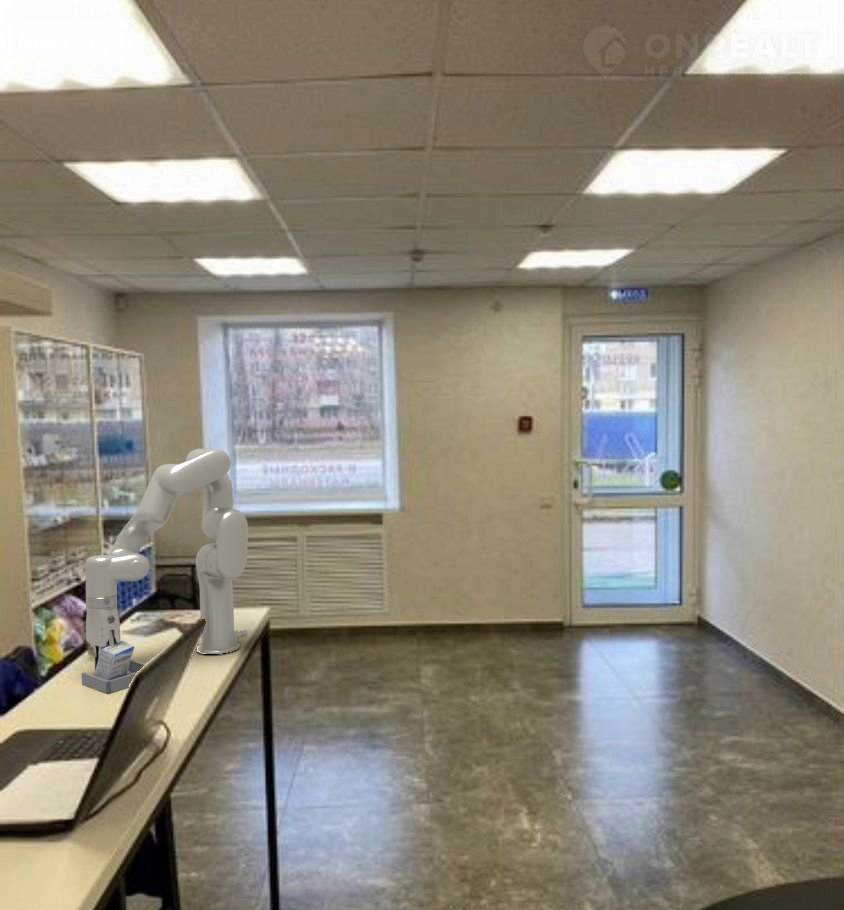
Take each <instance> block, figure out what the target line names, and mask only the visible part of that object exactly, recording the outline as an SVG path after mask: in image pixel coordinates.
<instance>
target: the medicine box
mask: <svg viewBox="0 0 844 910" xmlns="http://www.w3.org/2000/svg"><path fill="white" fill-rule="evenodd" d="M134 650H135V646H134V645H132V644H131V643H128V641H125V640H120V644H118V643H115V644H114V646H108V647H105V648H103V649H101V652H100V656H99V659H98V663H97V667H96V670H95V669H94V674H93V675H94V676H97V677H100V678H103V679H105V680H108V681H109V680H113V679H116V678H119V677H123V676H126V675H128V672H129V671H128V668H129V664H130V661H131V659H132V657H133V653H134Z"/></svg>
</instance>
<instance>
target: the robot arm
mask: <svg viewBox="0 0 844 910" xmlns="http://www.w3.org/2000/svg"><path fill="white" fill-rule="evenodd" d="M185 458H186V459H185V461H183V462H182V463H166V464H165V463H164V464H162V465H160V466H158V467H157V468H156V469H155V470H154V472H153V474H152V476H151V477H150V478H151V479H150V481H149V483H148V486H146V489H145V492H144V494H143V496H142V498H141V501H140V503H139V505H138V507H137V509H136V511H135V513H134V514H133V515H132V516H131V518H130V519H129V521H128V522H127V523H126V524H125V525H124V527H123V528H122V529H121V530H120V532H119V534H118V535H117V537H116V539H115V542H114V544H113V546H112V548H111V550H110V552H109V554H100V555H93V556H90V557H87V559H86V561H85V610H86V619H85V640H86V642H87V643H88V644H89V645H90V647H91V648H92V649H93V656H94V671H95V670H96V667H97V663H98V659H99V656H100V652H101V649H103V648H105V647H108V646H114V644H115V643H118V644H120V641H121V623H120V616H119V611H118V589H117V588H118V585H117V584H118V583H117V582H135V581H136V582H137V581H140V580H142V579H143V578H145V577H146V576H147V575H148V574H149V571H150V569H151V568H150V567H151V566H150V561H149V560H148V558H146V556H144V555H143V554H140V550H141V549H142V546H143V545H144V543H145V542H146V540H147V539H148V538H149V537H150V536H151V535H152V534H153V533H154V532H156V531H158V530H159V529H161V528H162V527H163V526H164V525H166V524H167V522H168V520H169V517H170V516H171V513H172V511H173V508H174V506H175V504H176V501H177V499H178V497H179V496H181V495H183V496H184V495H187V494H190V493H192V492H195V491H197V490H199V489H202V494H203V495H202V496H203V499H202V500H203V503H202V517H201V518H202V520H201V528H202V532H203V534H204V535H205V536H207V538H210V539H214V540H216V543H215V542H213V543H207V544H205V545H203V546H202V547H201V548H200V549H199V550H198V552H197V554H196V557H195V568H196V573H197V578H198V585H199V604H200V605H199V609H200V610H199V611H200V612H199V613H200V620H201V619H205V621H206V624H205V627H204V631H203V633H202V636H201V635H200V637H201V640H200V641H201V643H200V644H199V645H201V646H200V647H199V648H198V650H199V651H200V652H201V653H206V654H220V655H224V654H223V653H226V654H229V653H228V652H230V653H233V652H235V651H234V650H236V651H237V649H238V648H239V647H240V648H241V642H240V641H238V640H240V638H245V637H247V636H248V631H247V630H246V629H244V630H240V631H239V630H235V615H234V614H235V613H234V608H235V607H234V590H233V589H234V587H233V582H232V580H235V579H237V578H238V577H240V576H241V575H242V574H243V572H244V570H245V568H246V564H247V560H248V545H249V544H248V543H249V523H248V520H247V517H246V516H245V515H244V513H243V512H241V511H240V510H238V509H236V508H234V496H233V493H234V492H233V491H234V490H233V483H232V480H231V478H230V476H229V474H228V472H229V471H230V468H231V462H232V461H231V458H230V456H229V454H228V453H227V452H226V451H224V450H222V449H219V448H197V449H193V450H191V451H189V453H188V454H187V455H186V457H185ZM240 648H239V649H240ZM239 649H238V650H239ZM232 651H233V652H232Z"/></svg>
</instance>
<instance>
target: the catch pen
mask: <svg viewBox="0 0 844 910" xmlns="http://www.w3.org/2000/svg"><path fill="white" fill-rule="evenodd" d="M145 664H146V663H144V662H141V661H138V660H134V659H132V658H131V661H130V664H129V668H128V671H127V672H131V673H129V674H126V675H125V676H123V677H119V678H116V679H113V680H109V681H108V680H105V679H103V678H100V677H97V676H94V674H92V673H88V672H85V671H83V672H81V684H82V685H83V686H86V687H88V688H91V689H94V690H95V691H97V692H98V691H99V692H101V693H104V694H106V695H110V694H112V693H116V692H120V691H122V690H125V689H128V686H129V684H130V683H131V681H132V679H133V677H134V676H135V674H136V673H137V671H139V670H140V669H141V668H142V667H143V666H144V665H145Z"/></svg>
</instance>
